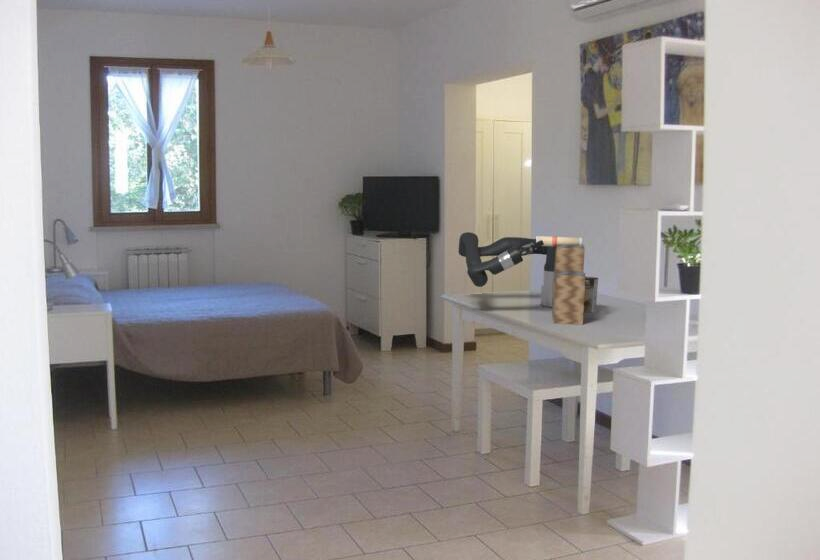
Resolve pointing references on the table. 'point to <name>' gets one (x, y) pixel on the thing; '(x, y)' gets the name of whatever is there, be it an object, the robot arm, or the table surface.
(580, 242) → the cream long cylinder
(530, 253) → the robot arm
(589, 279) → the coffee box
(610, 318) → the table surface
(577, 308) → the stand
